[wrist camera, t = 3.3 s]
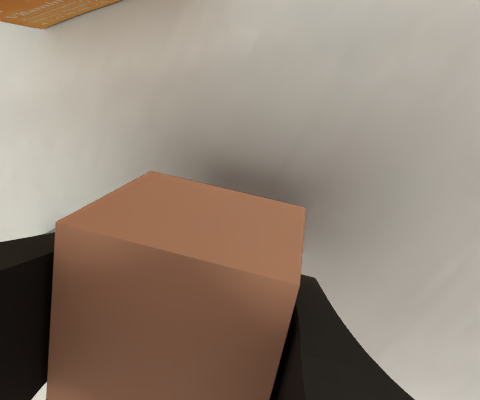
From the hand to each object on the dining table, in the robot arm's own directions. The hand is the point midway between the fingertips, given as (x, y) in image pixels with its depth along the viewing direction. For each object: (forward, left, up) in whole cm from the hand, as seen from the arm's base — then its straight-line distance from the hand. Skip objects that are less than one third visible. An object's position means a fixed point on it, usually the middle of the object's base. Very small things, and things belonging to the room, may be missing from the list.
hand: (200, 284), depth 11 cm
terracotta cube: (0, 0, -1) cm, 1 cm away
